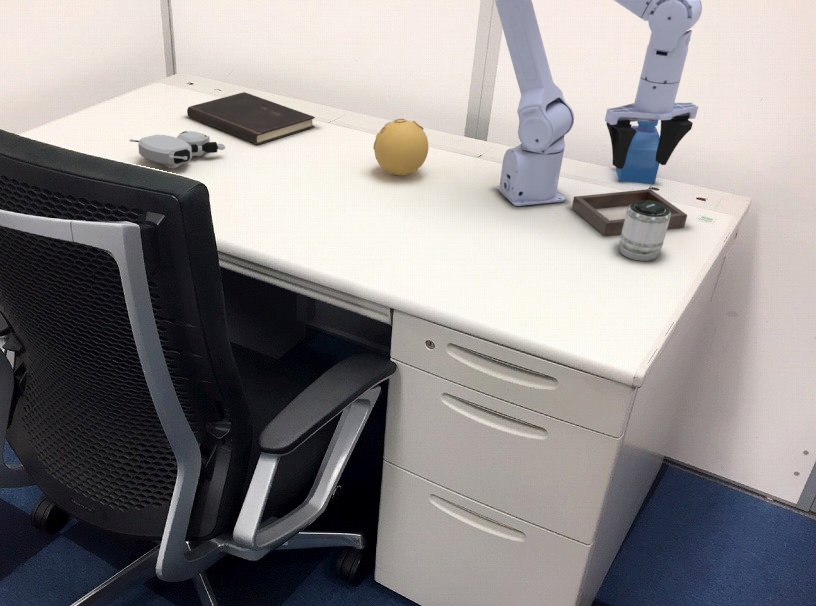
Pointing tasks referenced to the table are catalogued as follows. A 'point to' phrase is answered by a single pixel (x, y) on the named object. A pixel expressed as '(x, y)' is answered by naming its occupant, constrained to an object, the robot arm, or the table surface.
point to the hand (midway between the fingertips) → (639, 164)
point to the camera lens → (644, 230)
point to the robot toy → (176, 148)
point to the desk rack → (614, 227)
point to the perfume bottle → (641, 155)
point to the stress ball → (401, 147)
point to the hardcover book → (251, 117)
